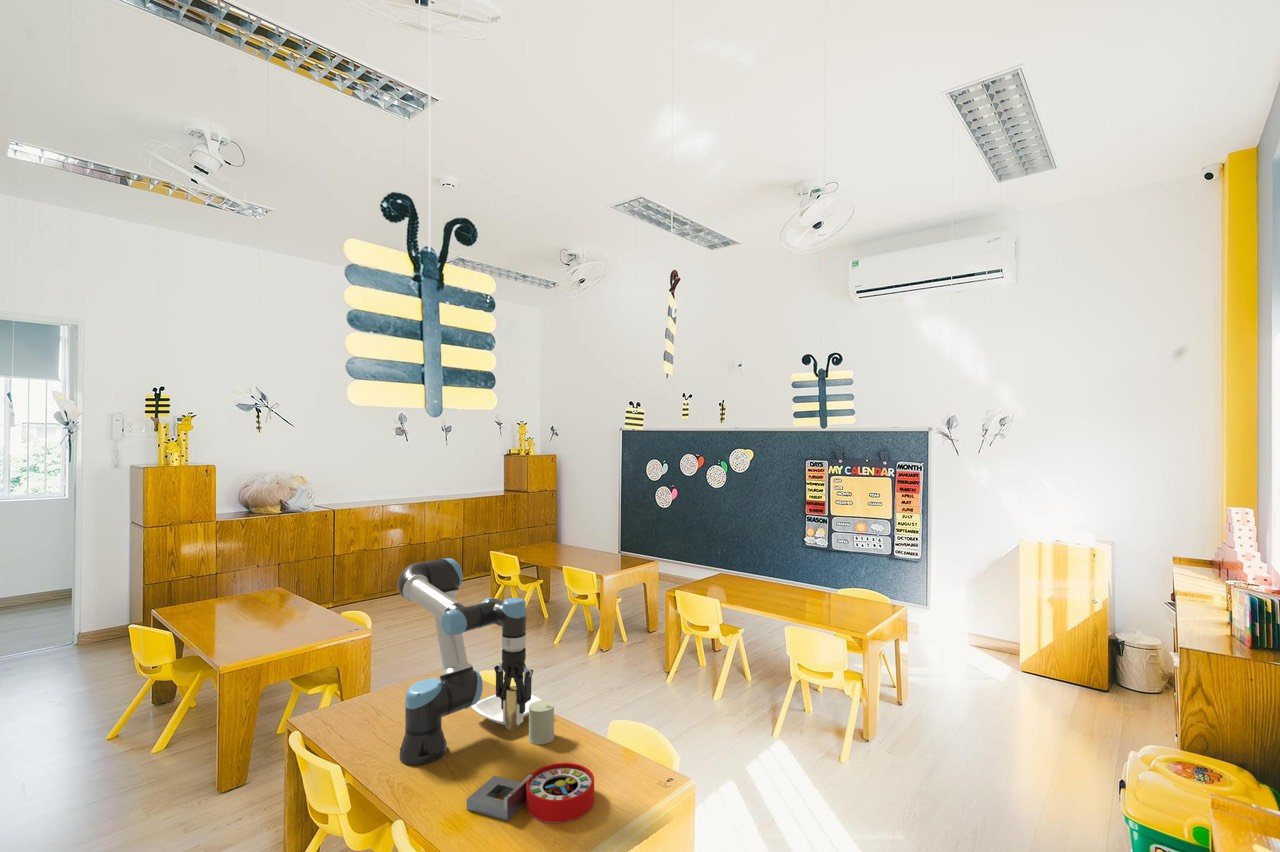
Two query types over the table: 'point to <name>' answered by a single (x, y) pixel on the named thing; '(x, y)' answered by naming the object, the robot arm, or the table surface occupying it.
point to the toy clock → (560, 792)
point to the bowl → (497, 708)
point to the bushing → (511, 708)
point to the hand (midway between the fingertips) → (513, 721)
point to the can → (541, 722)
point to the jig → (497, 808)
